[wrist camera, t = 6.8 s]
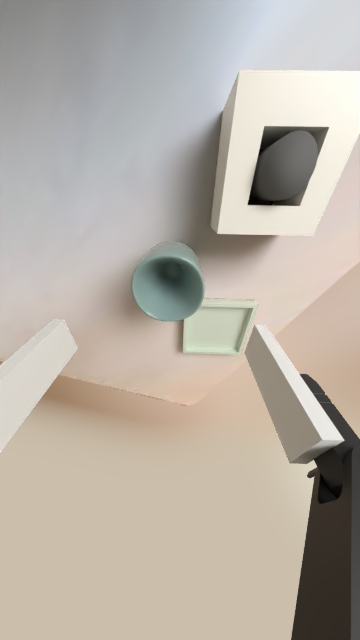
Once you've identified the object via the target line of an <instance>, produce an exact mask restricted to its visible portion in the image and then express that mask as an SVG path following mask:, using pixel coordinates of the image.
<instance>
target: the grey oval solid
mask: <svg viewBox="0 0 360 640" xmlns="http://www.w3.org/2000/svg"><path fill="white" fill-rule="evenodd" d="M317 157H318V148H317V143H316V141H315V139H314V137H313V136H312V135H311V134H310V133H308V132H306V131H302V130H299V131H294V132H291V133H289V134H287V135H285V136H284V137H282V138H281V139H279V140H278V141H276V142H275V143H273V144H272V145H270V146H269V147H267V148H266V149H264V150H263V151H261V152H260V153H259V154H258V158H257V163H256V168H255V172H254V177H253V182H252V186H251V191H250V196H249V199H250V200H253V201H273V200H286V199H288V198H291V197H293V196H294V195H296V194H297V193H298V192H299V191H300V190H302V189H303V187H304V186H305V185H306V184H307V182H308V181H309V179H310V178H311V176H312V174H313V172H314V169H315V166H316V163H317Z"/></svg>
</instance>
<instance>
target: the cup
mask: <svg viewBox="0 0 360 640" xmlns="http://www.w3.org/2000/svg"><path fill="white" fill-rule="evenodd" d="M204 292H205V284H204V277H203V273H202V269H201V265H200V262H199V260H198V258H197V255H196V254H195V252H194V251H193V250H192V248H190V247H189V246H188V245H186V244H184V243H182V242H178V241H166V242H162V243H160V244H157V245H156V246H154V247H152V248H151V249H150V250H149V251H148V252H147V253H146V254H145V255H144V256H143V258H142V259H141V260H140V262H139V263H138V264H137V266H136V268H135V270H134V272H133V276H132V293H133V296H134V299H135V301H136V303H137V305H138V307H139V308H140V309H141V310H142V311H143V312H144V313H145V314H146V315H148V316H150V317H151V318H154V319H157V320H160V321H179V320H183V319H186V318H188V317H190V316H192V315H193V314H194V313H195V312H196V311H197V310H198V309H199V308H200V306H201V304H202V301H203V298H204Z"/></svg>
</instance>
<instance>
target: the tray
mask: <svg viewBox="0 0 360 640" xmlns="http://www.w3.org/2000/svg"><path fill="white" fill-rule="evenodd" d="M257 307H258V304H257V303H256V301H255V300H249V299H210V298H203V301H202V304H201V306H200V308H199V309H198V310H197V311H196V312H195V313H194V314H193V315H192V316H190V317H188V318H186V319H184V329H183V353H193V354H227V355H241V353H242V350H243V347H244V344H245V341H246V338H247V335H248V333H249V330H250V327H251V324H252V321H253V318H254V315H255V313H256V310H257Z"/></svg>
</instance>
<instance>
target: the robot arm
mask: <svg viewBox="0 0 360 640" xmlns="http://www.w3.org/2000/svg"><path fill="white" fill-rule="evenodd" d="M77 349H78V347H77V345H76V343H75V341H74V339H73V337H72V335H71V333H70V331H69V329H68V327H67V325H66V323H65V321H64V320H56V319H53V320H52V321H51V322H50V323H48V324H47V325H46V326H45V327H44V328H43V329H41V330H40V331H39V332H38V333H37V334H36V335H35V336H33V337H32V338H31V339H30V340H29V341H28V342H27V343H25V344H24V345H23V346H22V347H21V348H20V349H18V350H17V351H16V352H15V353H14V354H13V355H12V356H10V357H9V358H8V359H7V360H6V361H5V362H4V363H3V364H1V365H0V452H1V451H2V450H3V448H4V447H5V445H6V444H7V443H8V441H9V440H10V439H11V437H12V436H13V435H14V434H15V432H16V431H17V430H18V428H19V427H20V426H21V424H22V423H23V421H24V420H25V419H26V417H27V416H28V415H29V413H30V412H31V411H32V409H33V408H34V407H35V405H36V404H37V403H38V401H39V400H40V399H41V397H42V396H43V395H44V393H45V392H46V391H47V389H48V388H49V387H50V385H51V384H52V383H53V381H54V380H55V379H56V377H57V376H58V374H59V373H60V372H61V370H62V369H63V368H64V366H65V365H66V364H67V362H68V361H69V360H70V358H71V357H72V356H73V354H74V353H75V352H76V350H77ZM245 355H246V357H247V360H248V362H249V365H250V367H251V370H252V372H253V375H254V377H255V379H256V382H257V384H258V387H259V389H260V391H261V394H262V397H263V399H264V401H265V404H266V406H267V409H268V411H269V414H270V416H271V419H272V421H273V423H274V426H275V428H276V431H277V433H278V436H279V438H280V440H281V443H282V445H283V448H284V450H285V453H286V455H287V458H288V460H289V463H298V464H307V463H309V462H311V461H312V460H314V461H315V463H316V465H317V468H315V469H313V470H312V471H310V472H309V473H308V475H307V477H308V478H312V477H314V476H315V477H314V485H313V491H312V498H311V505H310V513H309V519H308V526H307V533H306V540H305V547H304V554H303V561H302V568H301V575H300V582H299V589H298V596H297V603H296V609H295V617H294V623H293V631H292V638H291V640H360V439H359V438H358V437H357V435H356V434H355V433H354V431H353V430H352V429H351V427H350V426H349V425H348V423H347V422H346V421H345V419H344V418H343V417H342V415H341V414H340V413H339V411H338V410H337V409H336V407H335V406H334V405H333V404H332V403H331V401H330V399H329V398H328V397H327V395H325V392H324V391H323V390H322V389H321V387H320V386H319V384H317V382H316V381H314V380H313V379H312V378H311V377H309V375H307V374H299V373H298V371H297V370H296V369H295V367H294V366H293V364H292V363H291V361H290V360H289V358H288V357H287V355H286V354H285V353H284V351H283V349H282V348H281V347H280V345H279V344H278V342H277V341H276V339H275V338H274V336H273V335H272V333H271V332H270V330H269V329H268V327H267V326H266V325H254V328H253V330H252V333H251V336H250V339H249V342H248V344H247V347H246V350H245Z"/></svg>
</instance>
